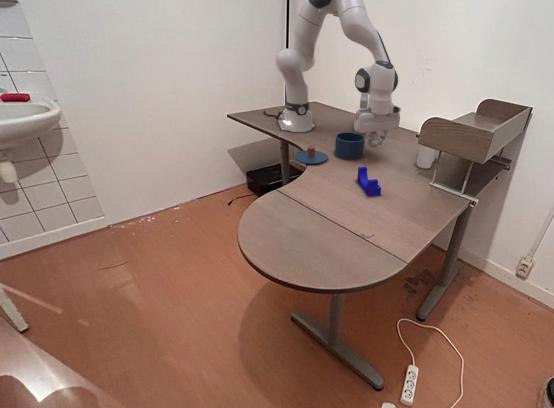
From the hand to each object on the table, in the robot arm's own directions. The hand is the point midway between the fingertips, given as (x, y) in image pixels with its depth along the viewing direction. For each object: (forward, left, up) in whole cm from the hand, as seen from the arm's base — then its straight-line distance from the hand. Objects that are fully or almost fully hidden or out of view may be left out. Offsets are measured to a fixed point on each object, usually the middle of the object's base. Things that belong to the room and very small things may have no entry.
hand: (375, 140), depth 123 cm
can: (+10, +20, -11) cm, 25 cm away
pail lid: (-15, -22, -10) cm, 28 cm away
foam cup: (+5, +27, -11) cm, 30 cm away
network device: (-42, +20, -11) cm, 48 cm away
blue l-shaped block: (+18, -14, -11) cm, 25 cm away
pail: (-13, -5, -11) cm, 17 cm away
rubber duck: (0, 0, -3) cm, 3 cm away
